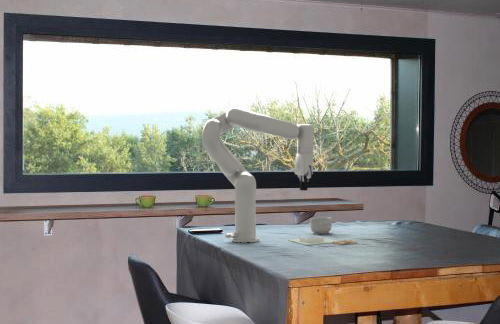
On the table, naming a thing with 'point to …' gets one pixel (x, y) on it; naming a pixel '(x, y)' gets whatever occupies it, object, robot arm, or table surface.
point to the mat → (313, 242)
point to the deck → (311, 239)
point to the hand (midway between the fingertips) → (303, 190)
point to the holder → (344, 242)
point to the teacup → (320, 225)
